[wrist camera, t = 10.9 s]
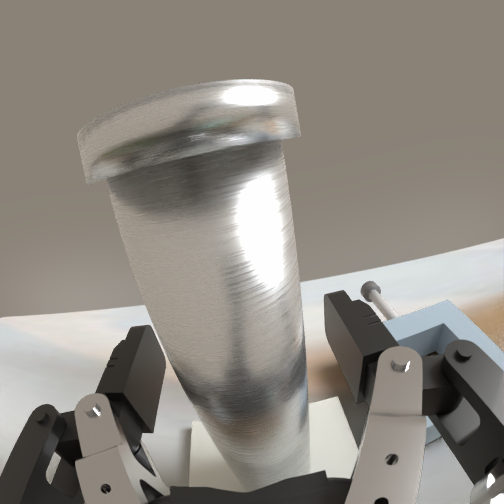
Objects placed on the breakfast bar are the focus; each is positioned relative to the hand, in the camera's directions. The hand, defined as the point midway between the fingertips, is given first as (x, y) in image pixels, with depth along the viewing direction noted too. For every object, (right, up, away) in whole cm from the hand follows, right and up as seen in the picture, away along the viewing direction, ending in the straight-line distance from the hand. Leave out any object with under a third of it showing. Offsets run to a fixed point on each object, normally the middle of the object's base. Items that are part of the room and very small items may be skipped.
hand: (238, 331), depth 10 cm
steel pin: (+2, -10, +1) cm, 10 cm away
